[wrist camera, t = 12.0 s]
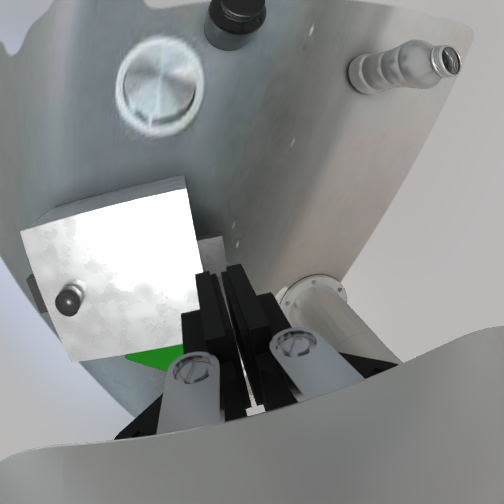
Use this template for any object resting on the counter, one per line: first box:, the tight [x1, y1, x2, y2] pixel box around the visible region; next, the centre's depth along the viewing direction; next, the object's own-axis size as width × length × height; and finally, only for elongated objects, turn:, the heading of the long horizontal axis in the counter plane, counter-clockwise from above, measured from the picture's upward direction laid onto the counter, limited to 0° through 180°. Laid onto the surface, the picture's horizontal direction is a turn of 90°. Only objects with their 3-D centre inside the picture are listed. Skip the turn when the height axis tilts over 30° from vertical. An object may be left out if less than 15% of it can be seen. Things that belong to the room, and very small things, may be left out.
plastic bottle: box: [349, 39, 461, 95], centre depth 34 cm, size 6×7×20 cm
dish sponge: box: [125, 344, 184, 372], centre depth 52 cm, size 7×14×2 cm, turn 62°
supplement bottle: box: [205, 0, 266, 50], centre depth 31 cm, size 7×7×12 cm
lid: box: [20, 188, 203, 362], centre depth 34 cm, size 18×20×3 cm
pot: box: [25, 175, 228, 313], centre depth 40 cm, size 18×26×11 cm
